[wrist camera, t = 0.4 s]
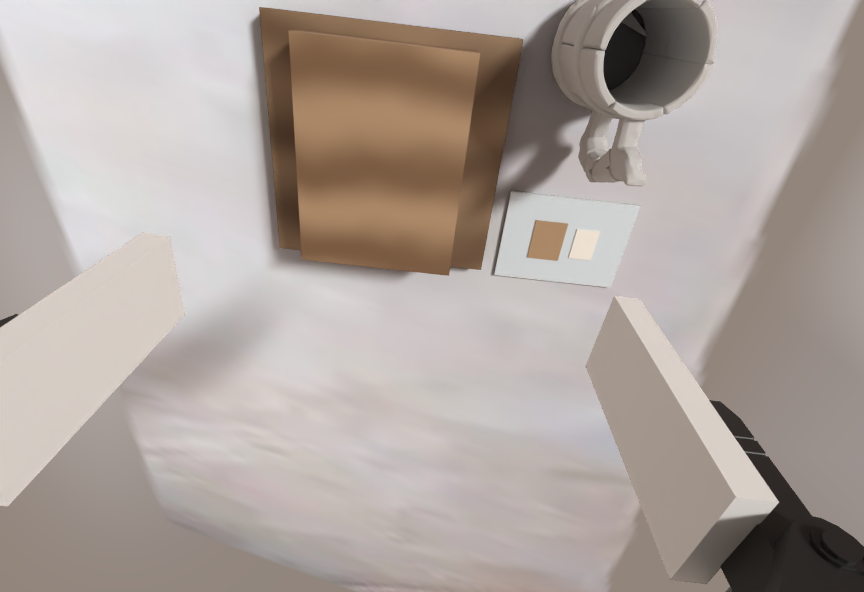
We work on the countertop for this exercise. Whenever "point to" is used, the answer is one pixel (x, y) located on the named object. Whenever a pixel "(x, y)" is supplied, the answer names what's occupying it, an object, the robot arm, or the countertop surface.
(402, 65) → the plinth
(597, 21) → the mug
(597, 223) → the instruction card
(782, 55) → the countertop surface
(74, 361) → the robot arm
